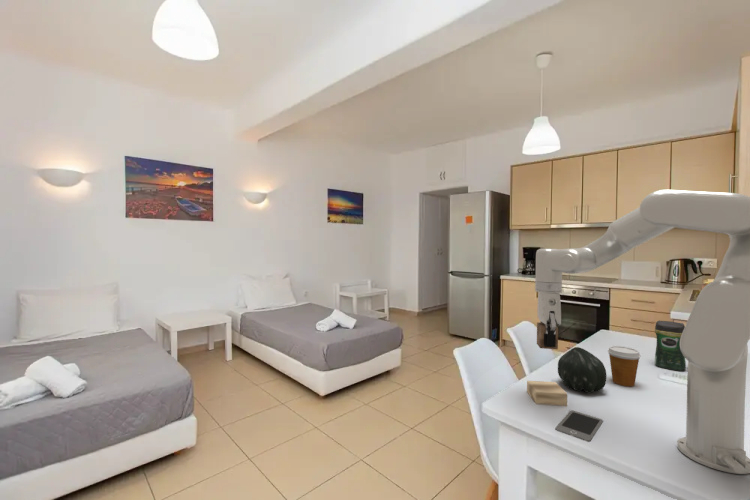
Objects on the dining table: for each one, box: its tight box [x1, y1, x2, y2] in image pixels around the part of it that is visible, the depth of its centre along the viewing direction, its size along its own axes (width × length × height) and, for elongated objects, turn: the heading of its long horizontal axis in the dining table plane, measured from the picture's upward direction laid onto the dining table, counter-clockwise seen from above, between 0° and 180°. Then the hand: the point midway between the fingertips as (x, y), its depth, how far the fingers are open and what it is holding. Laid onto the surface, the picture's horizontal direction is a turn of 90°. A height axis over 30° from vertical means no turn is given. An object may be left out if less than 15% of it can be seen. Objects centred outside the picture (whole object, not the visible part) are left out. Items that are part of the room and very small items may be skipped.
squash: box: [557, 346, 607, 393], centre depth 118 cm, size 14×15×15 cm
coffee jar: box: [654, 320, 687, 372], centre depth 139 cm, size 10×8×19 cm
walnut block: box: [536, 322, 559, 350], centre depth 109 cm, size 5×5×7 cm
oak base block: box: [526, 380, 568, 407], centre depth 110 cm, size 9×9×4 cm
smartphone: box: [554, 409, 604, 443], centre depth 93 cm, size 15×8×1 cm, turn 135°
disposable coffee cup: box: [607, 345, 641, 388], centre depth 122 cm, size 10×10×12 cm
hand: (547, 343), depth 109 cm, fingers closed on walnut block, 5 cm apart
